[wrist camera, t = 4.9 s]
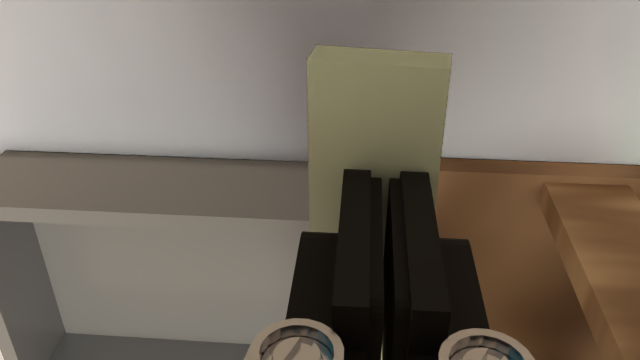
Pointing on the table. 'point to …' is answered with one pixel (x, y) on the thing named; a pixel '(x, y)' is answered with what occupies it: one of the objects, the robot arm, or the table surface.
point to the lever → (372, 121)
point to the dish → (145, 254)
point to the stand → (551, 251)
